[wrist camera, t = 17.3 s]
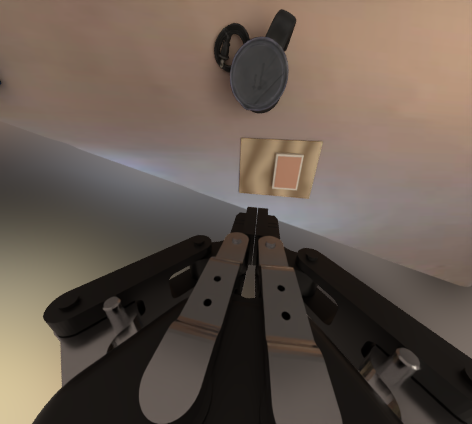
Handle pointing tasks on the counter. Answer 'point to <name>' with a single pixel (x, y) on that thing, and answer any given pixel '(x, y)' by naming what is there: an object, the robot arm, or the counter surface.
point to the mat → (263, 161)
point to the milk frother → (258, 63)
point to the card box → (287, 171)
